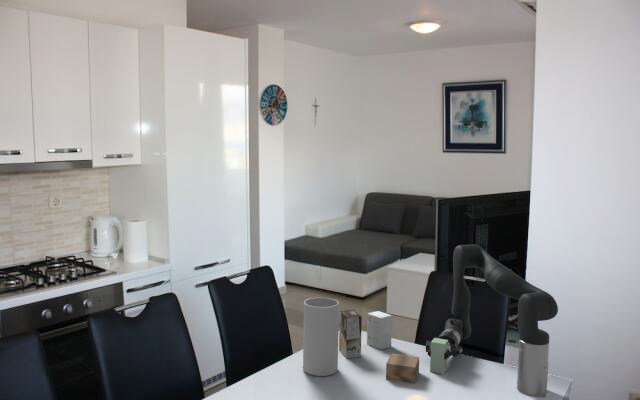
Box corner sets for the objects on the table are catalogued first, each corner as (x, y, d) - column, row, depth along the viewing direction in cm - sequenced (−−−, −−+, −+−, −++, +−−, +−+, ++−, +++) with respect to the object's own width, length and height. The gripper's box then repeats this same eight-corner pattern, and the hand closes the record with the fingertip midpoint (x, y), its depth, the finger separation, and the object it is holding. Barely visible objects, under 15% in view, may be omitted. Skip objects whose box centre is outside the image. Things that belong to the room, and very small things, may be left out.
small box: (391, 346, 227) (392, 315, 226) (380, 349, 223) (381, 318, 222) (377, 340, 233) (378, 310, 232) (366, 344, 229) (367, 313, 228)
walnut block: (418, 373, 201) (419, 357, 201) (414, 384, 192) (415, 367, 191) (391, 369, 204) (391, 353, 204) (385, 380, 195) (386, 363, 194)
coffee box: (361, 356, 215) (362, 316, 214) (346, 358, 213) (346, 317, 212) (353, 348, 224) (354, 309, 222) (338, 350, 222) (338, 310, 220)
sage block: (447, 369, 204) (448, 339, 203) (443, 374, 200) (444, 344, 199) (433, 366, 207) (434, 337, 206) (430, 371, 202) (431, 342, 201)
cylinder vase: (342, 367, 205) (344, 300, 203) (329, 379, 194) (330, 309, 191) (312, 361, 210) (313, 296, 208) (296, 373, 199) (297, 304, 197)
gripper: (430, 328, 218) (418, 341, 203) (467, 334, 212) (457, 348, 197) (429, 347, 219) (417, 361, 204) (466, 353, 213) (457, 369, 198)
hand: (437, 355), depth 200 cm, fingers closed on sage block, 5 cm apart
